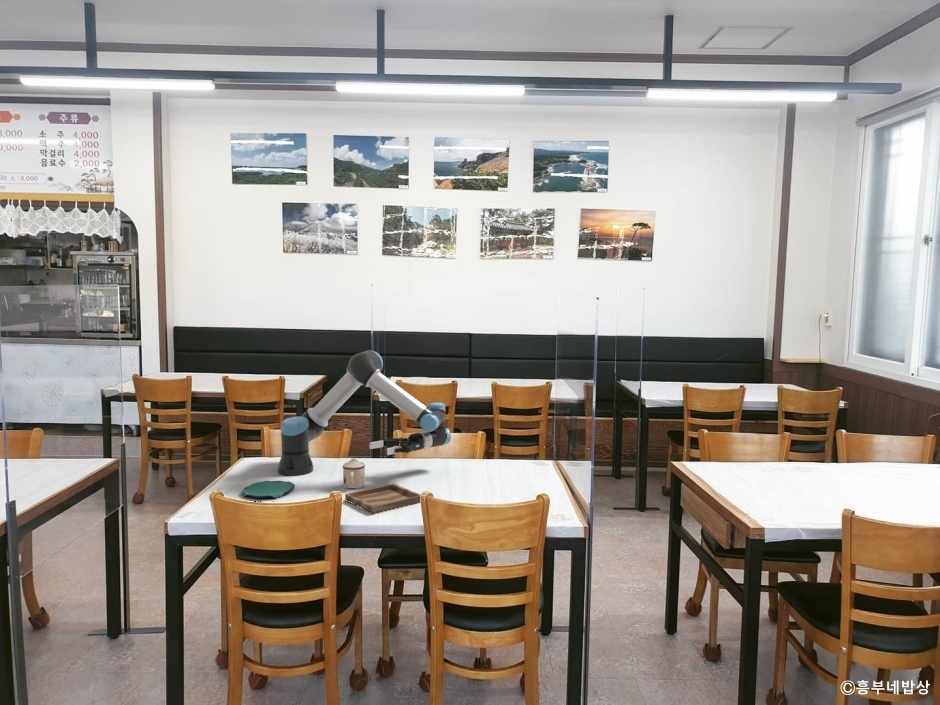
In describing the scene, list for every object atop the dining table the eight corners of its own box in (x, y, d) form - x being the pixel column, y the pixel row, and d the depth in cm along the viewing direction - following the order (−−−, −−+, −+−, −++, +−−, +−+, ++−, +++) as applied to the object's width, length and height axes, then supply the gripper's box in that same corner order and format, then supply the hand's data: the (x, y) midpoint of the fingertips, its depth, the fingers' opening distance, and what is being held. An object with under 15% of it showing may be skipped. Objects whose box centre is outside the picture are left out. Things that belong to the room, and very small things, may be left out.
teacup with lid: (344, 482, 268) (344, 455, 267) (366, 482, 268) (366, 455, 267) (339, 491, 256) (339, 463, 255) (362, 491, 256) (362, 463, 255)
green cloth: (302, 486, 264) (302, 480, 264) (270, 511, 234) (270, 505, 234) (256, 484, 266) (256, 479, 266) (219, 509, 237) (219, 503, 237)
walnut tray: (345, 500, 245) (345, 494, 245) (393, 489, 259) (393, 483, 259) (372, 514, 230) (372, 507, 230) (422, 501, 244) (422, 495, 244)
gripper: (437, 454, 272) (395, 463, 259) (403, 444, 291) (363, 452, 278) (436, 437, 272) (394, 445, 258) (403, 428, 291) (362, 435, 277)
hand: (378, 448), depth 268 cm, fingers open, 13 cm apart
